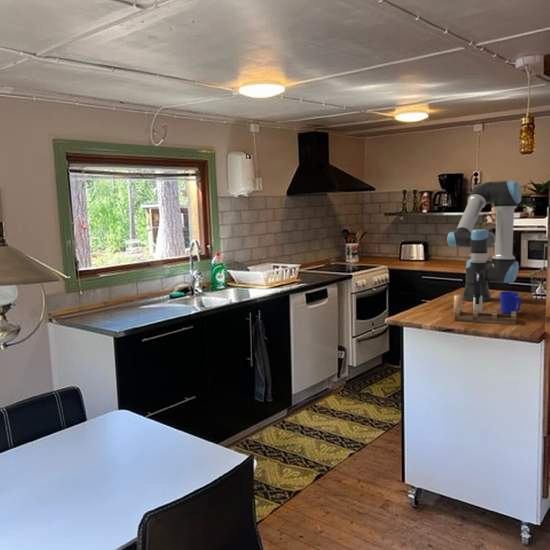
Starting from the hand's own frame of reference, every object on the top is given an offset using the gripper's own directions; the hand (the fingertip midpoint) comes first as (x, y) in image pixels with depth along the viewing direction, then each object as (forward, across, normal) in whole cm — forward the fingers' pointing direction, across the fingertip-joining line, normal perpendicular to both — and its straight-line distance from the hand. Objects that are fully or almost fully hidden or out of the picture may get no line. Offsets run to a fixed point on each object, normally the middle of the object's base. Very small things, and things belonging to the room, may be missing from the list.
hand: (477, 309), depth 262 cm
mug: (+3, -7, +15) cm, 17 cm away
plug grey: (+2, 0, 0) cm, 2 cm away
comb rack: (+3, +12, +4) cm, 13 cm away
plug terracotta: (+3, 0, -9) cm, 9 cm away
